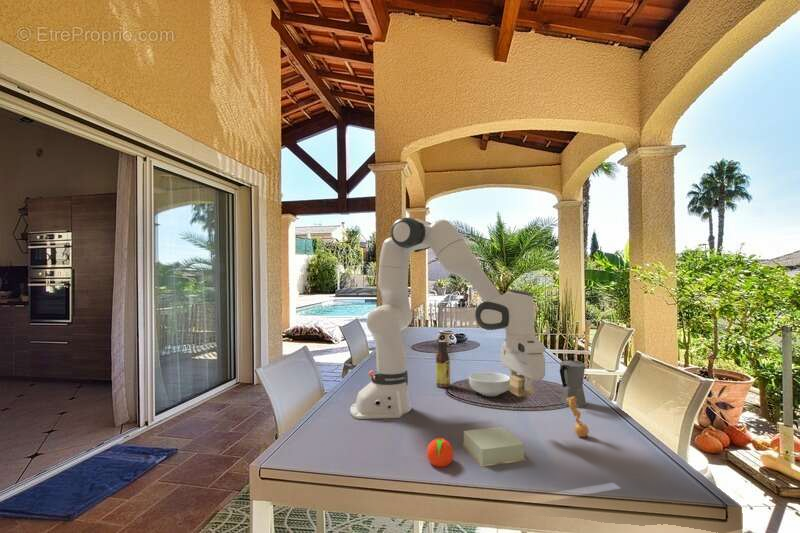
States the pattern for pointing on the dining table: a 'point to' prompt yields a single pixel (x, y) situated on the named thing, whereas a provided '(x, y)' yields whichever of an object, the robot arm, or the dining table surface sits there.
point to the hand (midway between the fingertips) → (521, 387)
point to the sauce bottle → (442, 365)
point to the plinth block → (493, 445)
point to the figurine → (580, 427)
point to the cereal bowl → (489, 383)
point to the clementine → (440, 452)
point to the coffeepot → (572, 381)
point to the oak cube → (519, 386)
